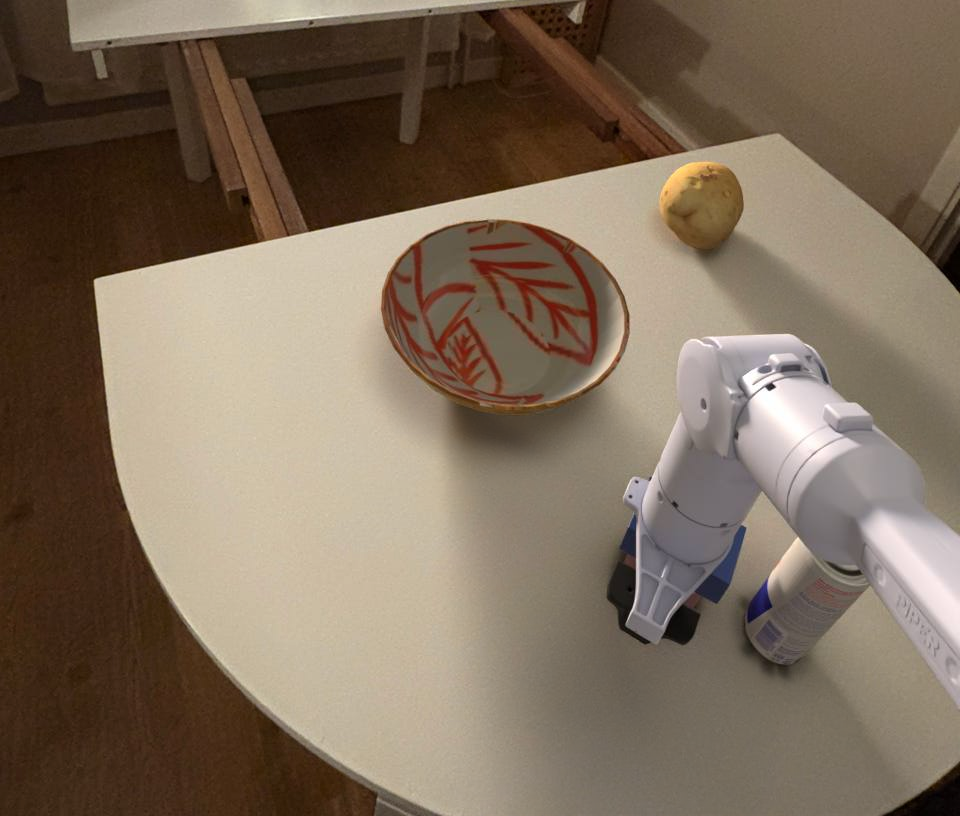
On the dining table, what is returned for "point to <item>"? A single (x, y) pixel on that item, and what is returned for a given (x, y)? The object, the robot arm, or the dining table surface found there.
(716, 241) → the potato
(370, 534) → the dining table surface
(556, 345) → the bowl
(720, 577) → the block
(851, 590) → the beverage can
